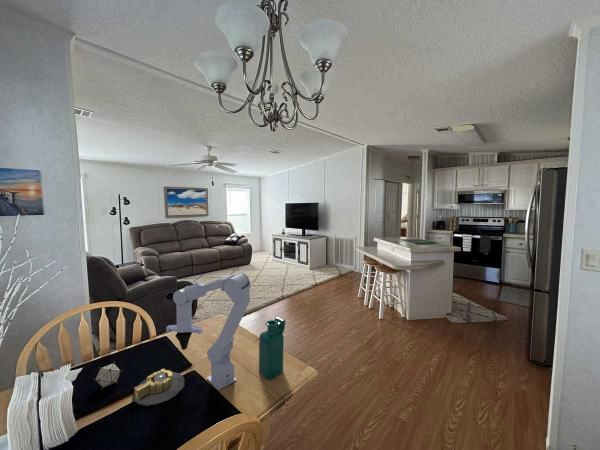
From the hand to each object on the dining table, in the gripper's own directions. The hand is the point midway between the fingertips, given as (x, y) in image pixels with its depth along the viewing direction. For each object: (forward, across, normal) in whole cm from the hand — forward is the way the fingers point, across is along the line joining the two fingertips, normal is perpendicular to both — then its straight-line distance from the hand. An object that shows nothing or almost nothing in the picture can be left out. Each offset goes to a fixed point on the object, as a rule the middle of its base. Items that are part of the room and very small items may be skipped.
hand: (184, 348), depth 108 cm
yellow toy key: (+8, +5, +13) cm, 16 cm away
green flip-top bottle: (+10, -37, -4) cm, 38 cm away
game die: (+10, +24, +11) cm, 29 cm away
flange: (+10, +4, +11) cm, 15 cm away
